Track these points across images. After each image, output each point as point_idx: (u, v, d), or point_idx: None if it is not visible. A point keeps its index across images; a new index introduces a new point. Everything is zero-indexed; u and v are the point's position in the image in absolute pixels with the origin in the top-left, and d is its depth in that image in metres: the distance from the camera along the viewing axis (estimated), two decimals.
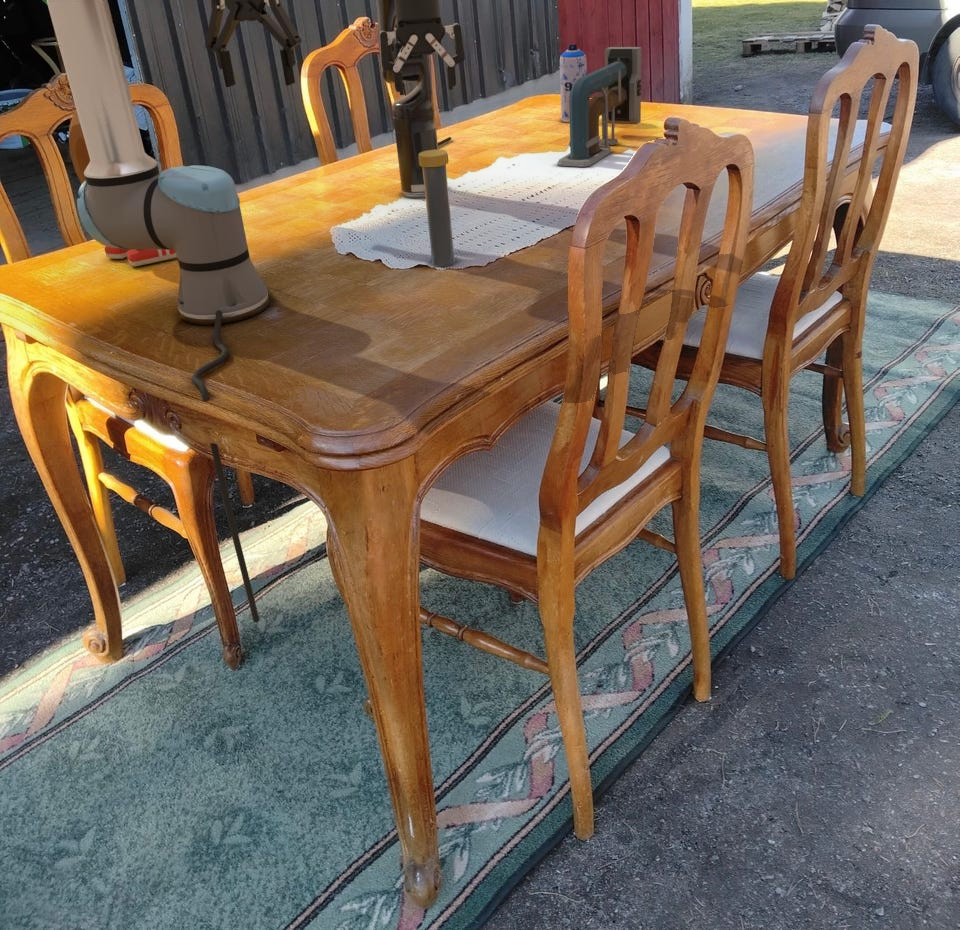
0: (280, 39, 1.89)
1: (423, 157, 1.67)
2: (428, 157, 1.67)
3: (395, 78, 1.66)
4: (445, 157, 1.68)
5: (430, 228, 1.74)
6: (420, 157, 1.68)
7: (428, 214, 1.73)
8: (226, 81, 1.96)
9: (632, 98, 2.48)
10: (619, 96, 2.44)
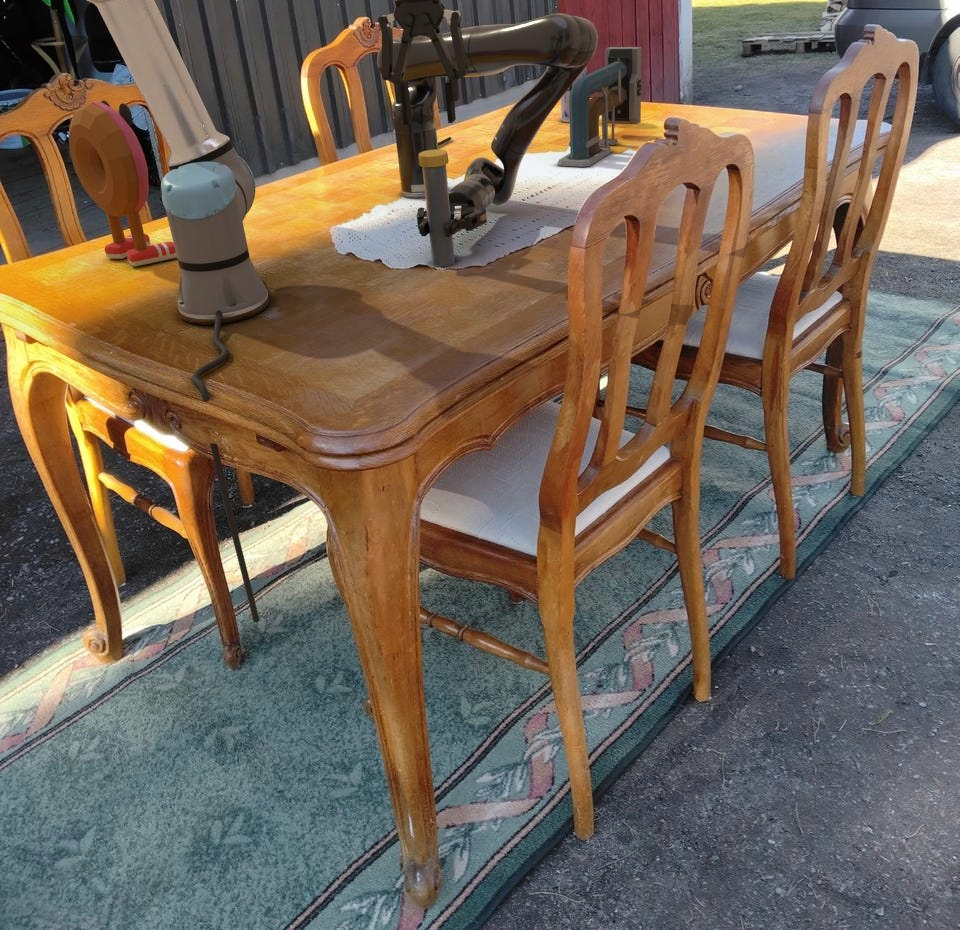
0: None
1: (423, 157, 1.67)
2: (428, 157, 1.67)
3: None
4: (445, 157, 1.68)
5: (430, 228, 1.74)
6: (420, 157, 1.68)
7: (428, 214, 1.73)
8: None
9: (632, 98, 2.48)
10: (619, 96, 2.44)
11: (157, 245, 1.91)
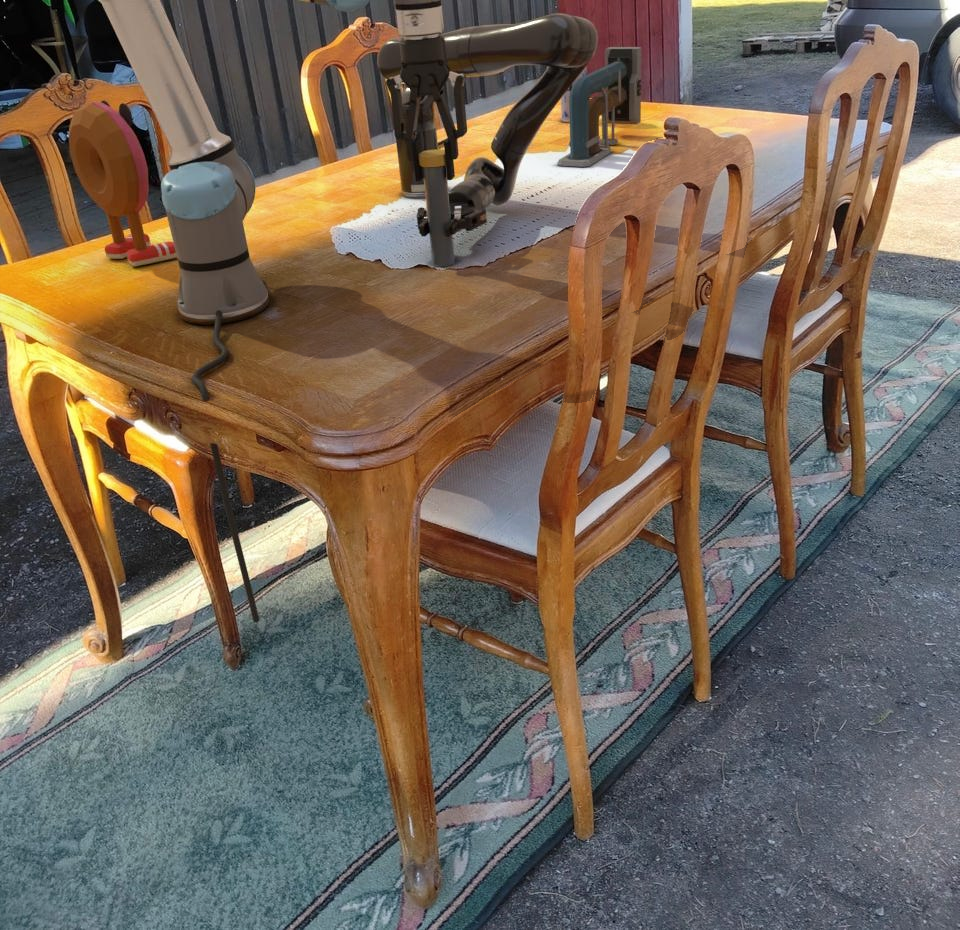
0: None
1: (423, 157, 1.67)
2: (428, 157, 1.67)
3: None
4: None
5: (430, 228, 1.74)
6: (420, 157, 1.68)
7: (428, 214, 1.73)
8: None
9: (632, 98, 2.48)
10: (619, 96, 2.44)
11: (157, 245, 1.91)
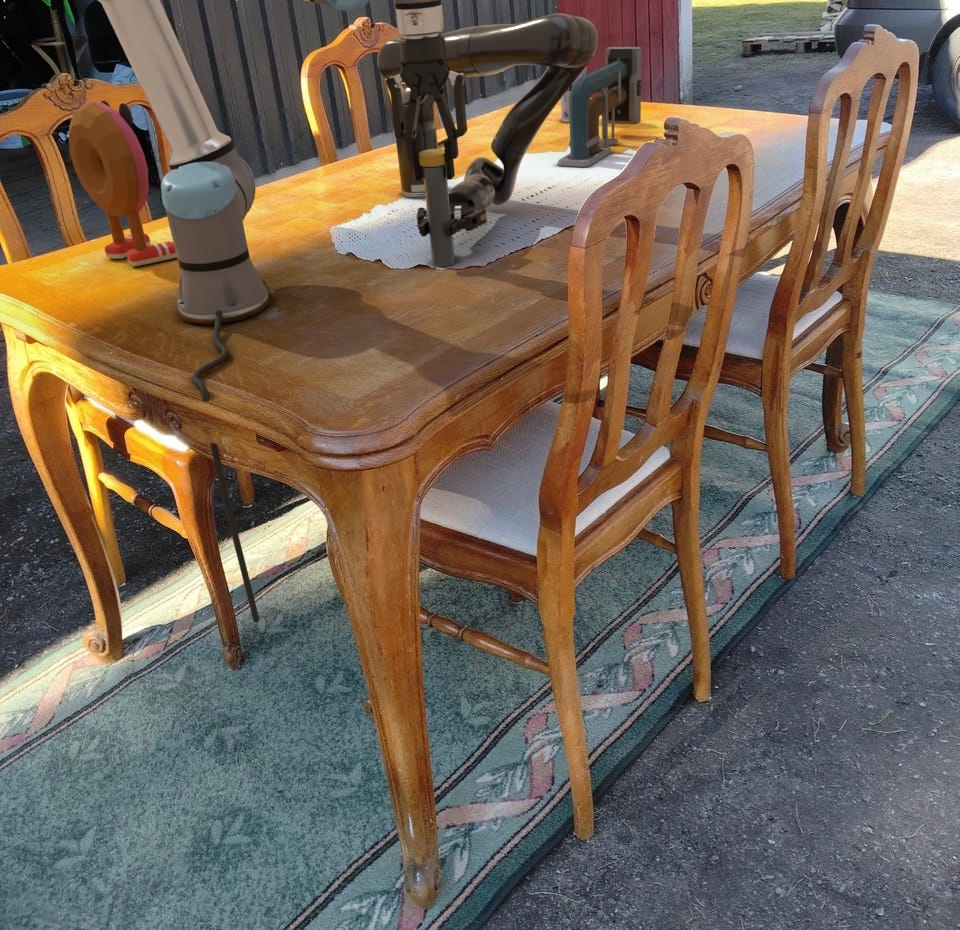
0: None
1: None
2: None
3: None
4: None
5: (430, 228, 1.74)
6: (442, 155, 1.67)
7: (428, 214, 1.73)
8: None
9: (632, 98, 2.48)
10: (619, 96, 2.44)
11: (157, 245, 1.91)
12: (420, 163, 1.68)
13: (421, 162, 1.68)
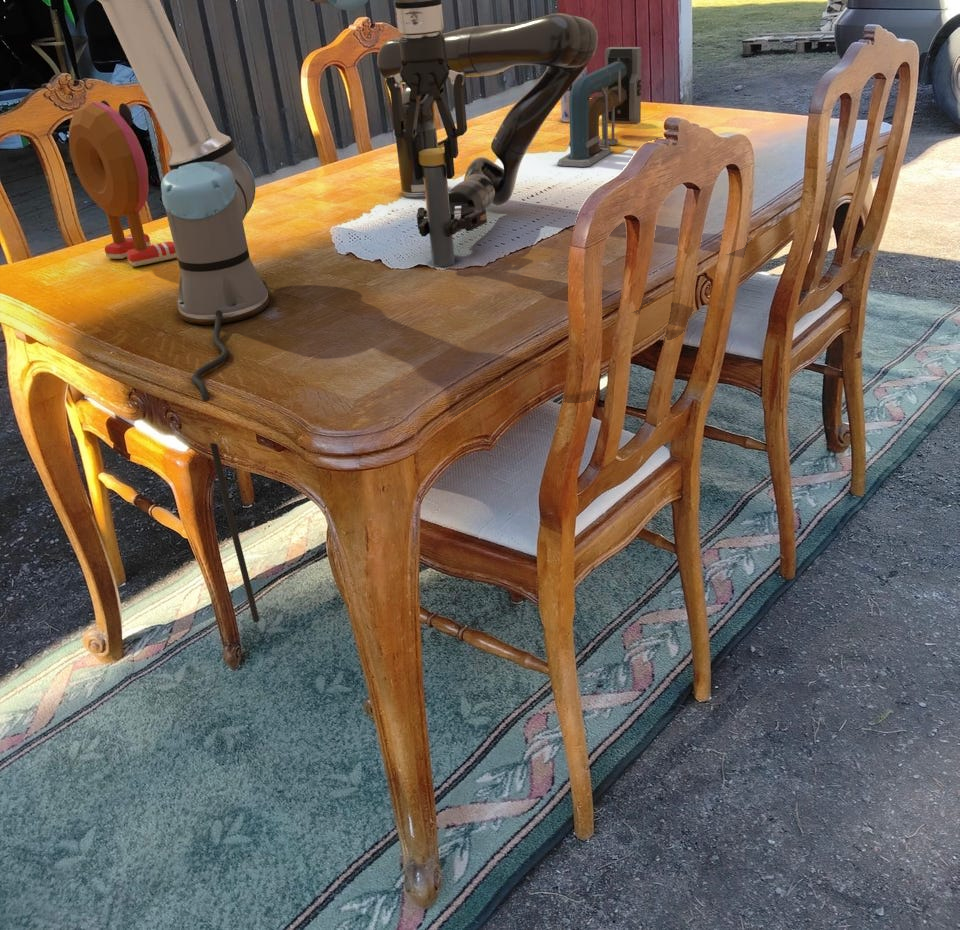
0: None
1: None
2: None
3: None
4: None
5: (430, 228, 1.74)
6: None
7: (428, 214, 1.73)
8: None
9: (632, 98, 2.48)
10: (619, 96, 2.44)
11: (157, 245, 1.91)
12: (441, 162, 1.67)
13: (443, 160, 1.67)
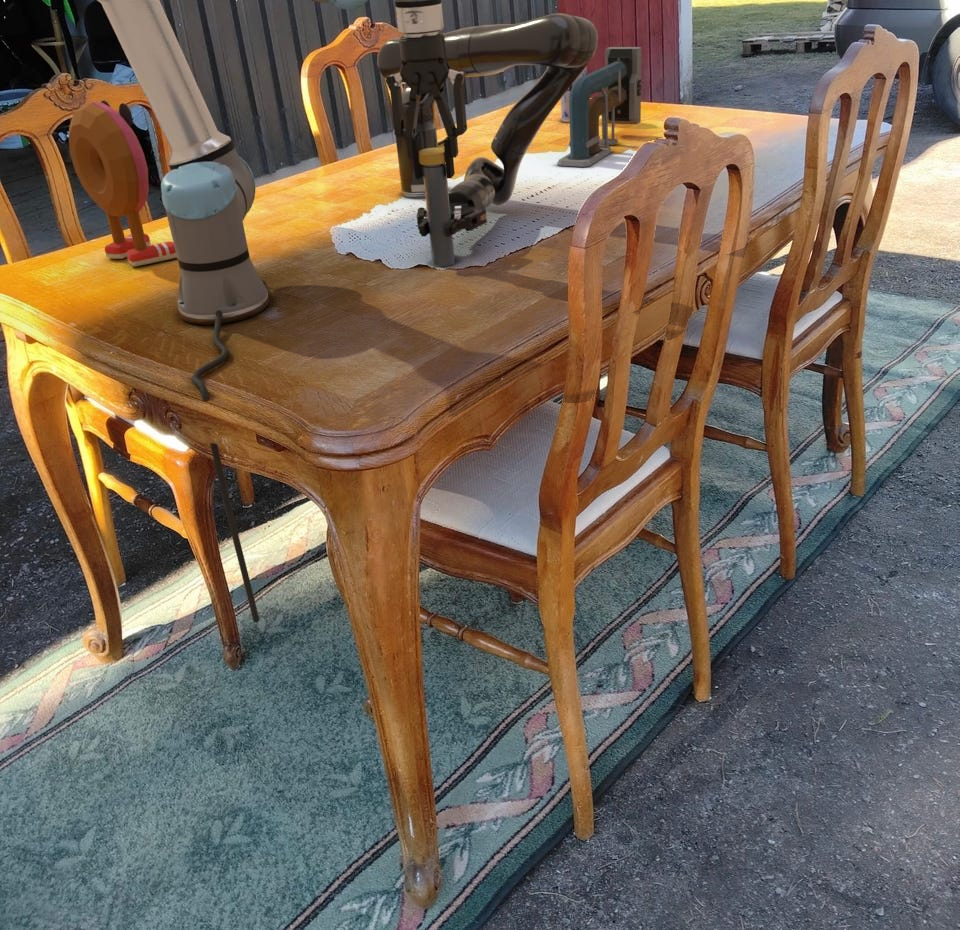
0: None
1: (418, 152, 1.69)
2: (419, 153, 1.68)
3: None
4: (433, 158, 1.67)
5: (430, 228, 1.74)
6: None
7: (428, 214, 1.73)
8: None
9: (632, 98, 2.48)
10: (619, 96, 2.44)
11: (157, 245, 1.91)
12: None
13: None
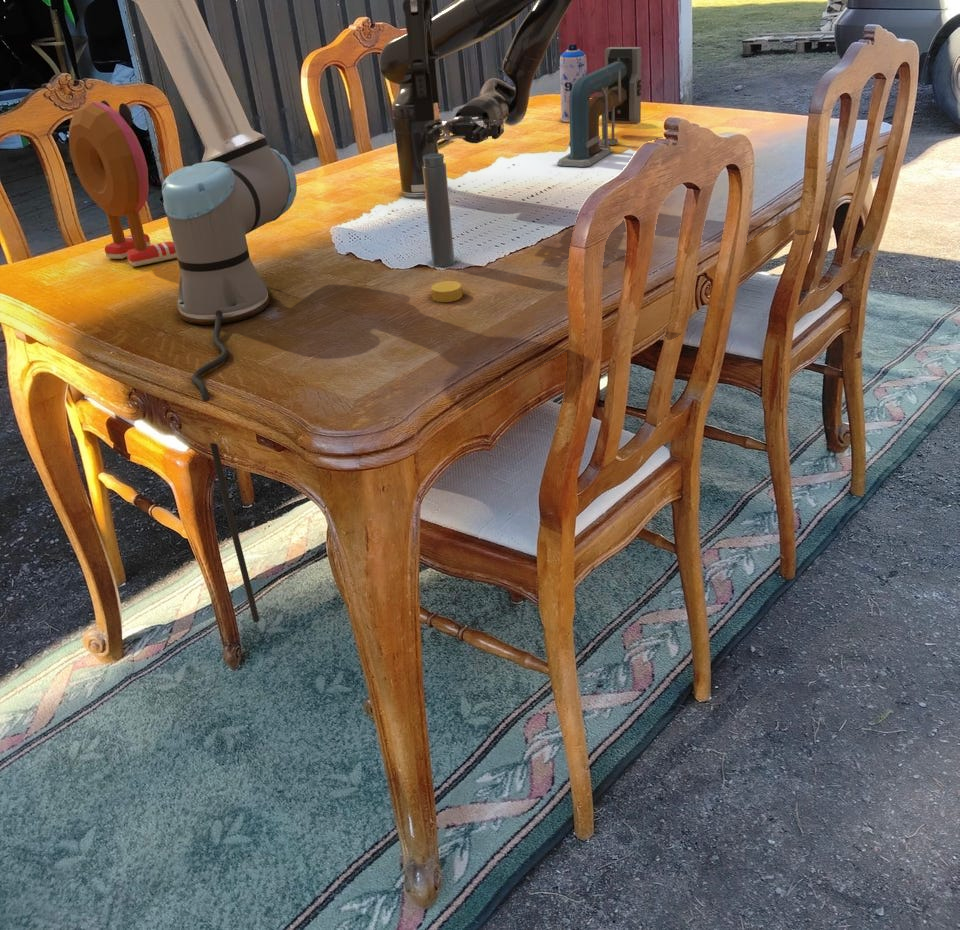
0: None
1: (447, 292, 1.60)
2: (453, 291, 1.60)
3: None
4: (460, 287, 1.63)
5: (430, 228, 1.74)
6: (442, 293, 1.60)
7: (428, 214, 1.73)
8: None
9: (632, 98, 2.48)
10: (619, 96, 2.44)
11: (157, 245, 1.91)
12: None
13: None
